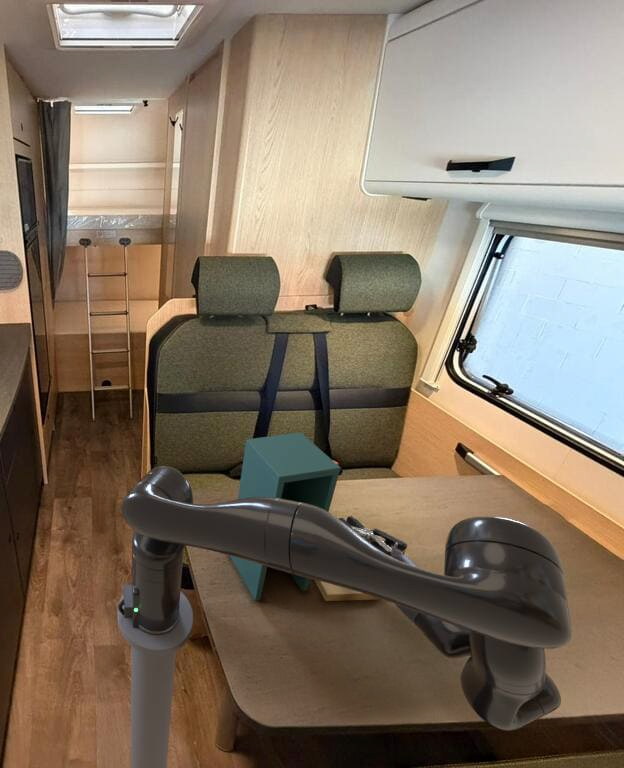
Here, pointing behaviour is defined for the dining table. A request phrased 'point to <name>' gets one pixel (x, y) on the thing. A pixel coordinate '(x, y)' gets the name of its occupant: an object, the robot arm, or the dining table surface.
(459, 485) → the dining table surface
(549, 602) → the robot arm
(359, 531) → the metal spatula
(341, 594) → the cutting board
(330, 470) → the shelf
